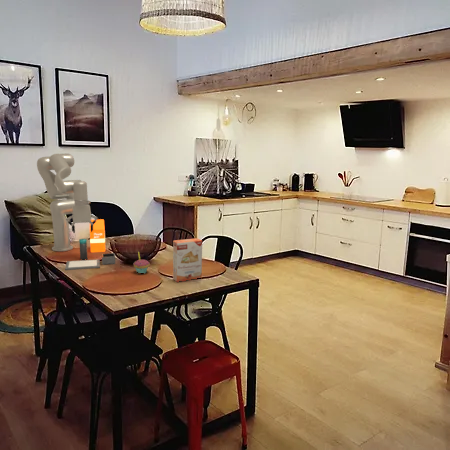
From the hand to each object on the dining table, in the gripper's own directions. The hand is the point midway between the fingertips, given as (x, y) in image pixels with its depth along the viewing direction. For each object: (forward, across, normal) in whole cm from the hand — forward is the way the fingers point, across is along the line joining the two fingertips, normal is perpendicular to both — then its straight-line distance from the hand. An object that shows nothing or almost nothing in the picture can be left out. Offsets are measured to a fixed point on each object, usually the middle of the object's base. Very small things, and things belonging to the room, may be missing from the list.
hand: (82, 232), depth 253 cm
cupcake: (+18, -31, +31) cm, 47 cm away
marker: (+16, 0, -1) cm, 17 cm away
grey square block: (+17, -14, +9) cm, 23 cm away
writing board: (+17, 0, +11) cm, 20 cm away
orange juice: (+16, -8, -19) cm, 26 cm away
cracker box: (+18, -53, +47) cm, 73 cm away
